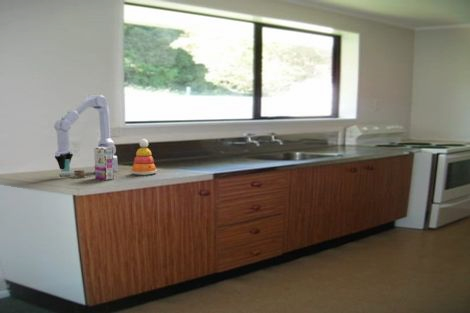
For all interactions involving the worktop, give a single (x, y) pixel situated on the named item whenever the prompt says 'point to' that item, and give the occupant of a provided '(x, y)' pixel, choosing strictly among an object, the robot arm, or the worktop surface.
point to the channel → (79, 174)
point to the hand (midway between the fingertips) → (64, 168)
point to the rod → (72, 175)
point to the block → (66, 166)
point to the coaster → (65, 174)
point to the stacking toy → (143, 160)
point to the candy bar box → (104, 163)
